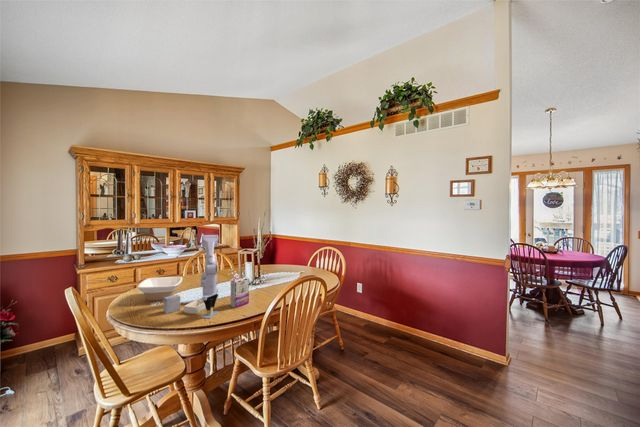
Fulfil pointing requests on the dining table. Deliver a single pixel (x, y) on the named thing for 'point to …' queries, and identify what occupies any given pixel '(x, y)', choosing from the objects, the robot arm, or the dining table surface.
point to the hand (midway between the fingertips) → (210, 308)
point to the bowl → (159, 287)
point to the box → (194, 307)
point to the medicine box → (171, 304)
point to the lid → (209, 314)
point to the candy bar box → (239, 292)
